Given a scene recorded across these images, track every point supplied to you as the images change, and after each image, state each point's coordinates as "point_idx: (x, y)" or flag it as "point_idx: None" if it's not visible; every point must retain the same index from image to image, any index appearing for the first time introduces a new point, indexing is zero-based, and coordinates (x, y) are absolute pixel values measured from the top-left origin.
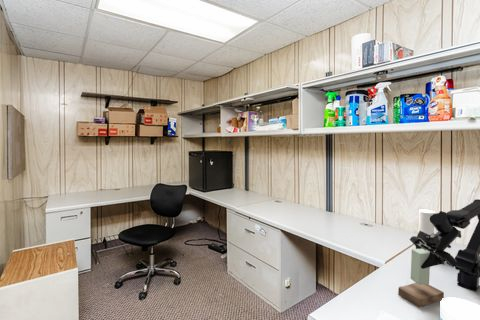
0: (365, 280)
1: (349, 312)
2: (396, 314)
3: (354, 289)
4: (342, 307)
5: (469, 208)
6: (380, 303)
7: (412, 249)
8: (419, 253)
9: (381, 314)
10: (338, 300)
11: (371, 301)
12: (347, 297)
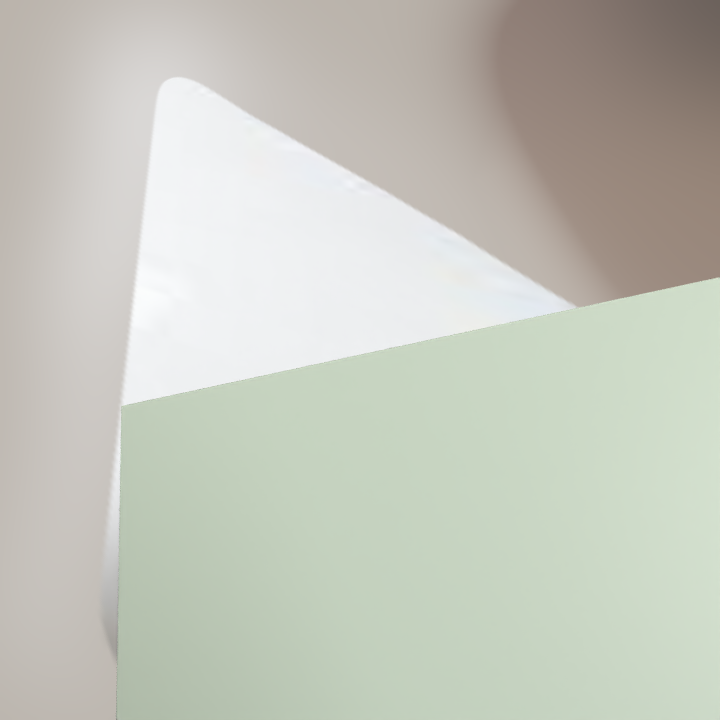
0: (541, 291)
1: (173, 157)
2: (137, 354)
3: (396, 210)
4: (213, 140)
5: None
6: (254, 302)
7: (679, 291)
8: (171, 406)
9: (145, 277)
10: (272, 134)
11: (273, 262)
12: (303, 169)
